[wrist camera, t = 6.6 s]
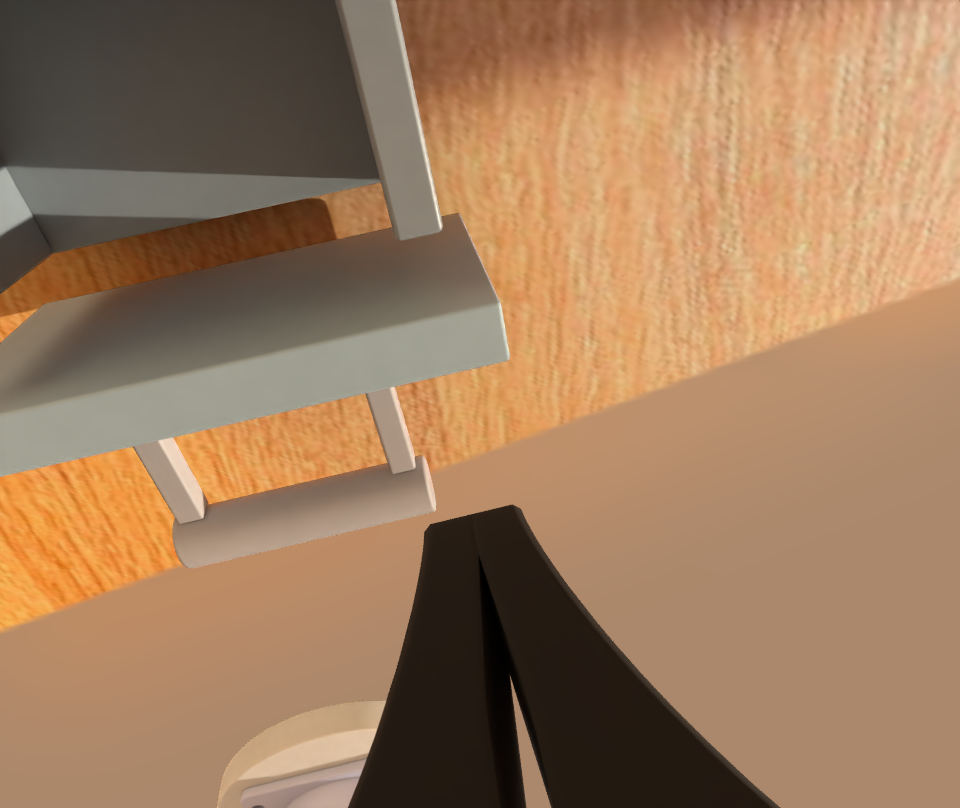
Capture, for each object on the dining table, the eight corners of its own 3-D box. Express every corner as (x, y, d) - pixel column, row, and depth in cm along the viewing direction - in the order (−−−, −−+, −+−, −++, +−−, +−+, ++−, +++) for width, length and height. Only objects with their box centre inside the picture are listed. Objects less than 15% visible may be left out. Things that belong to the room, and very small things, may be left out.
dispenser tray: (497, 407, 19) (542, 544, 14) (152, 486, 19) (74, 655, 14) (319, -527, 10) (266, -1092, 5) (-381, -401, 9) (-1224, -865, 4)
